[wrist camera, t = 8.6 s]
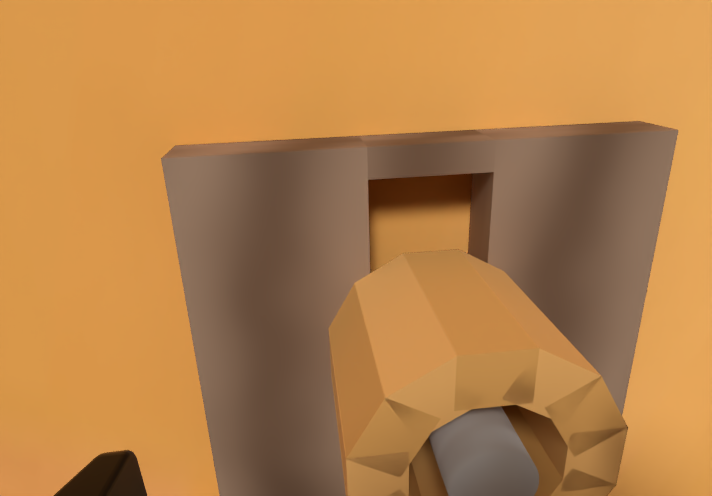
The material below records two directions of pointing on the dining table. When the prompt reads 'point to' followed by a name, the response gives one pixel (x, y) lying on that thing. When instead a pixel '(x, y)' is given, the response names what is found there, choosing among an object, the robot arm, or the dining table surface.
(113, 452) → the robot arm
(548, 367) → the notched tan hollow cylinder
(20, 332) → the dining table surface
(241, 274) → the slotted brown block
